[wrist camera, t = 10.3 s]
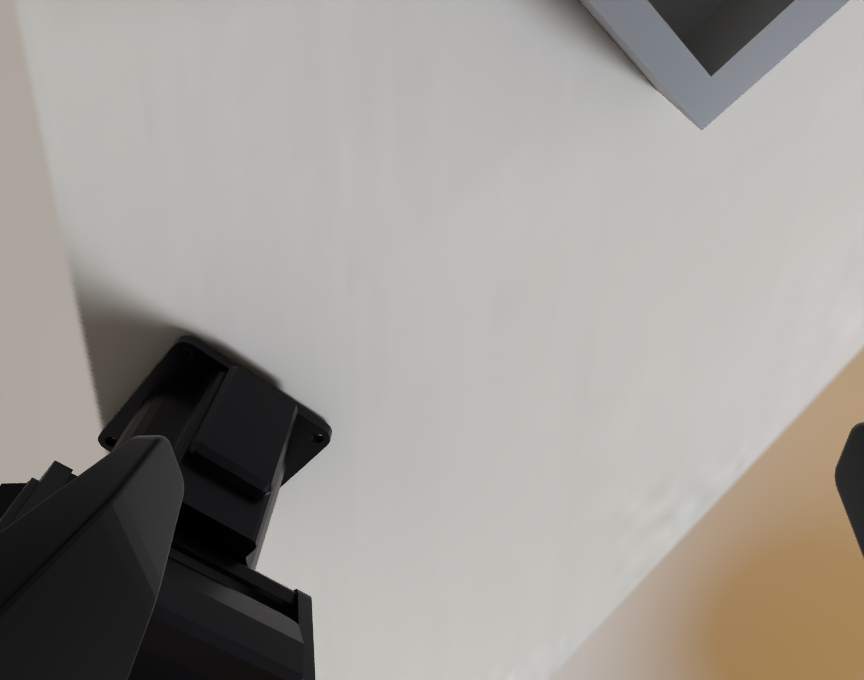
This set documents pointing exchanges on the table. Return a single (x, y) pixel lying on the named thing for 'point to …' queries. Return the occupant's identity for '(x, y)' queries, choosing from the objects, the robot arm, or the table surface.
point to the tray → (708, 44)
